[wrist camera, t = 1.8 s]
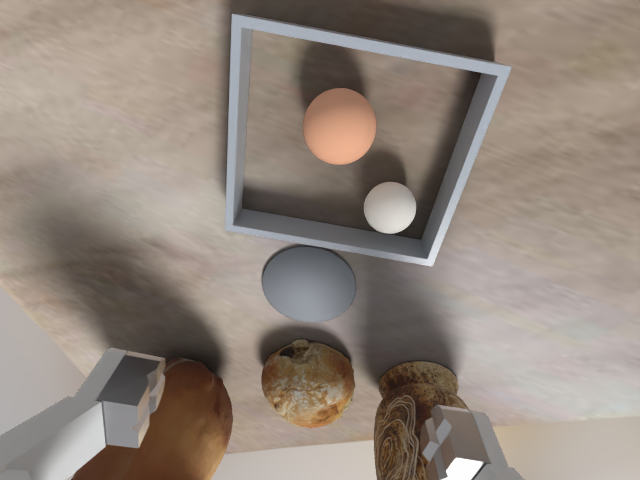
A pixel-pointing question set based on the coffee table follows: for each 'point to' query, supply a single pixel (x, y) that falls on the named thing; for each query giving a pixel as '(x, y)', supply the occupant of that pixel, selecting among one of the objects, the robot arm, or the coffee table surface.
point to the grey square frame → (334, 234)
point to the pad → (309, 284)
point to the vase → (409, 416)
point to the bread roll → (308, 383)
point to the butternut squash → (174, 432)
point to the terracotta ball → (339, 126)
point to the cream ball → (390, 207)
